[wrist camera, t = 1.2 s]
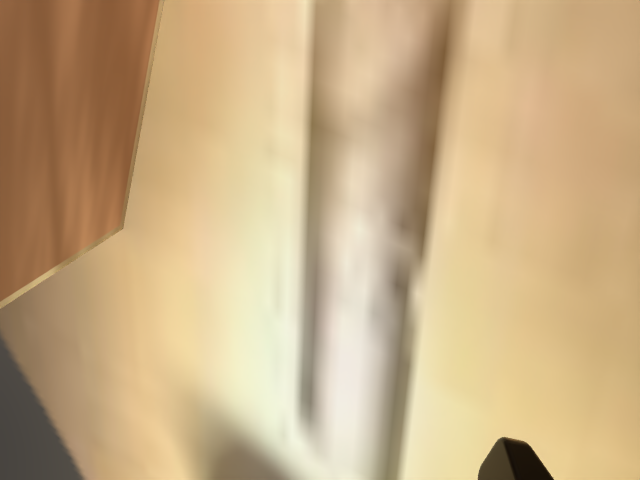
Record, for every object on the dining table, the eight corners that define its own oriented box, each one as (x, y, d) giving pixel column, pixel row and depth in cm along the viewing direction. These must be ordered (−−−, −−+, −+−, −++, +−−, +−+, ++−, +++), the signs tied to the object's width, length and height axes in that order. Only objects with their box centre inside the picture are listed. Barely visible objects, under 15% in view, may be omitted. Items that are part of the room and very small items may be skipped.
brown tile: (177, -65, 18) (-134, -84, 10) (124, 228, 25) (-93, 371, 16) (111, -95, 18) (-246, -138, 10) (75, 203, 25) (-163, 329, 16)
